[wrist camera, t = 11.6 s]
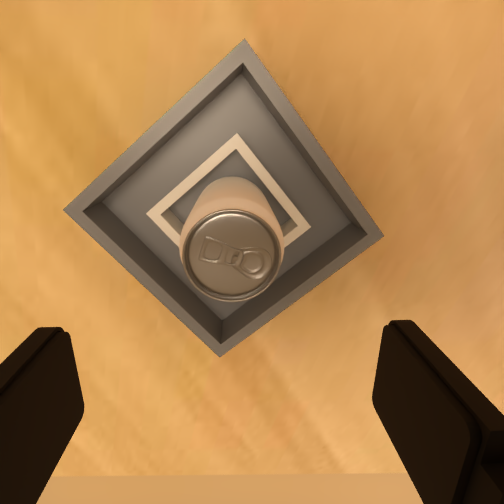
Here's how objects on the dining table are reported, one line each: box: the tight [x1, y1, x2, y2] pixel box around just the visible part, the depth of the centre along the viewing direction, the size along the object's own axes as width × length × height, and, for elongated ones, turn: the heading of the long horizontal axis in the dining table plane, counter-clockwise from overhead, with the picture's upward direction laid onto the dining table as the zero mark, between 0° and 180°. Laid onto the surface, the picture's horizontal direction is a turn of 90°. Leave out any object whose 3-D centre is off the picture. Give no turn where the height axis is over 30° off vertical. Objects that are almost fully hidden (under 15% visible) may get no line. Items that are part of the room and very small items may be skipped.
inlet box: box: [63, 39, 384, 357], centre depth 28 cm, size 18×18×5 cm
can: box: [179, 176, 284, 302], centre depth 24 cm, size 6×6×12 cm
